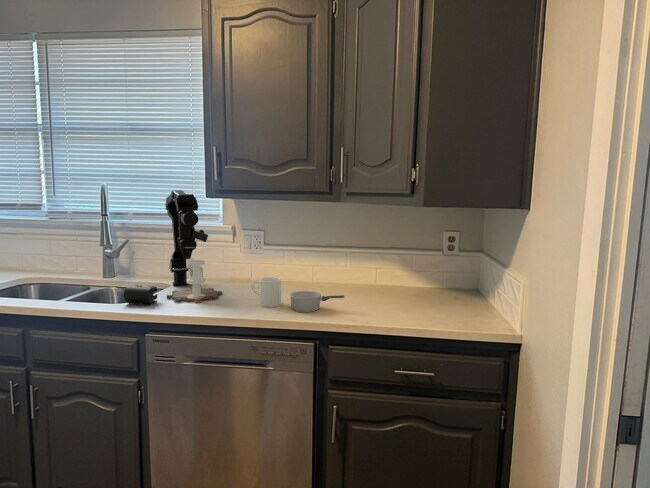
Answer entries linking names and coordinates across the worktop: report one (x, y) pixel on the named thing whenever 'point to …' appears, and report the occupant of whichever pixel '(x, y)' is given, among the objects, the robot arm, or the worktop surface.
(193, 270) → the light grey tall piece
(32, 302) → the worktop surface
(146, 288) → the end cap
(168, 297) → the sprocket plate
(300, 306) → the saucepan
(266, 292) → the mug
